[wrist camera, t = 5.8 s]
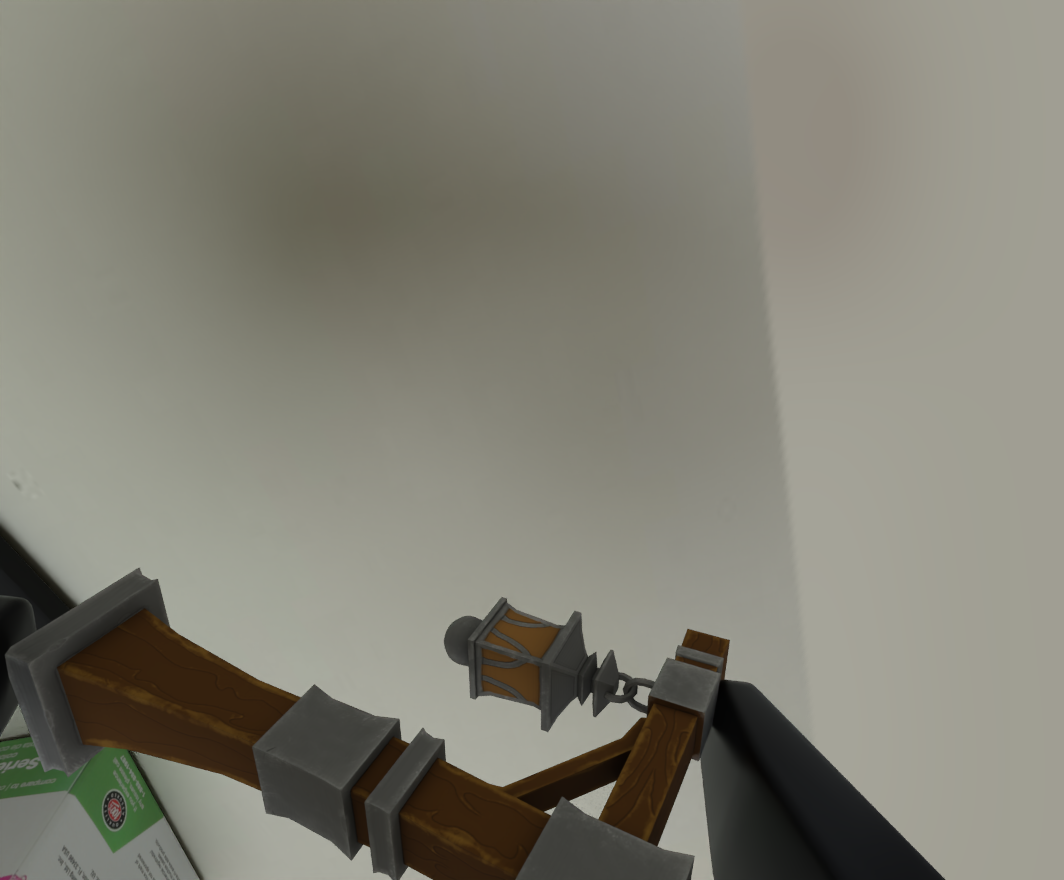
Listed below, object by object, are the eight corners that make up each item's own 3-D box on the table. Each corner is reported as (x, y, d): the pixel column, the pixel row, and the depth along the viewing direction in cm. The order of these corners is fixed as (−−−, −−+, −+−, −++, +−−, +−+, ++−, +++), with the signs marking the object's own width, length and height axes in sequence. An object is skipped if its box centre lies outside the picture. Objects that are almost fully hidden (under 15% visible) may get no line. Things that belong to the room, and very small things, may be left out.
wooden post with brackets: (788, 733, 10) (712, 1147, 6) (290, 579, 13) (26, 785, 9) (810, 617, 9) (739, 1007, 5) (275, 483, 12) (-21, 664, 8)
